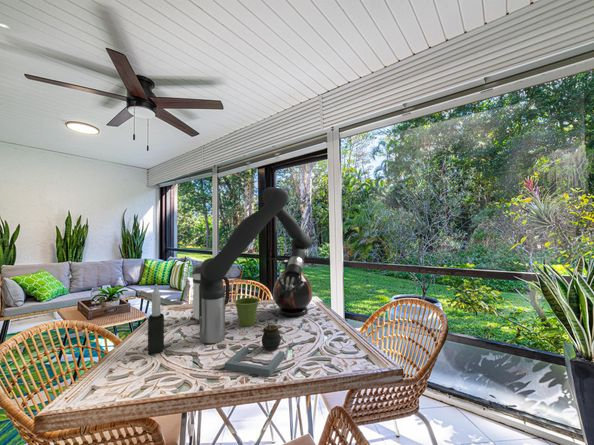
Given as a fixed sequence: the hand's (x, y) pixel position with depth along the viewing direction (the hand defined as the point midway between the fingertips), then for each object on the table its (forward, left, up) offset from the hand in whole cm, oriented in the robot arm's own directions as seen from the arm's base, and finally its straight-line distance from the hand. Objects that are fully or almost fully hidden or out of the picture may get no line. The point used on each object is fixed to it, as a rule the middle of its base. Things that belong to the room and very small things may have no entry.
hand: (286, 299), depth 125 cm
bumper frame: (0, -31, -14) cm, 34 cm away
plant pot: (-21, +2, -14) cm, 25 cm away
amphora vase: (-6, +26, -14) cm, 30 cm away
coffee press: (-44, +4, -14) cm, 46 cm away
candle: (-40, -34, -14) cm, 54 cm away
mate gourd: (0, -19, -14) cm, 23 cm away
